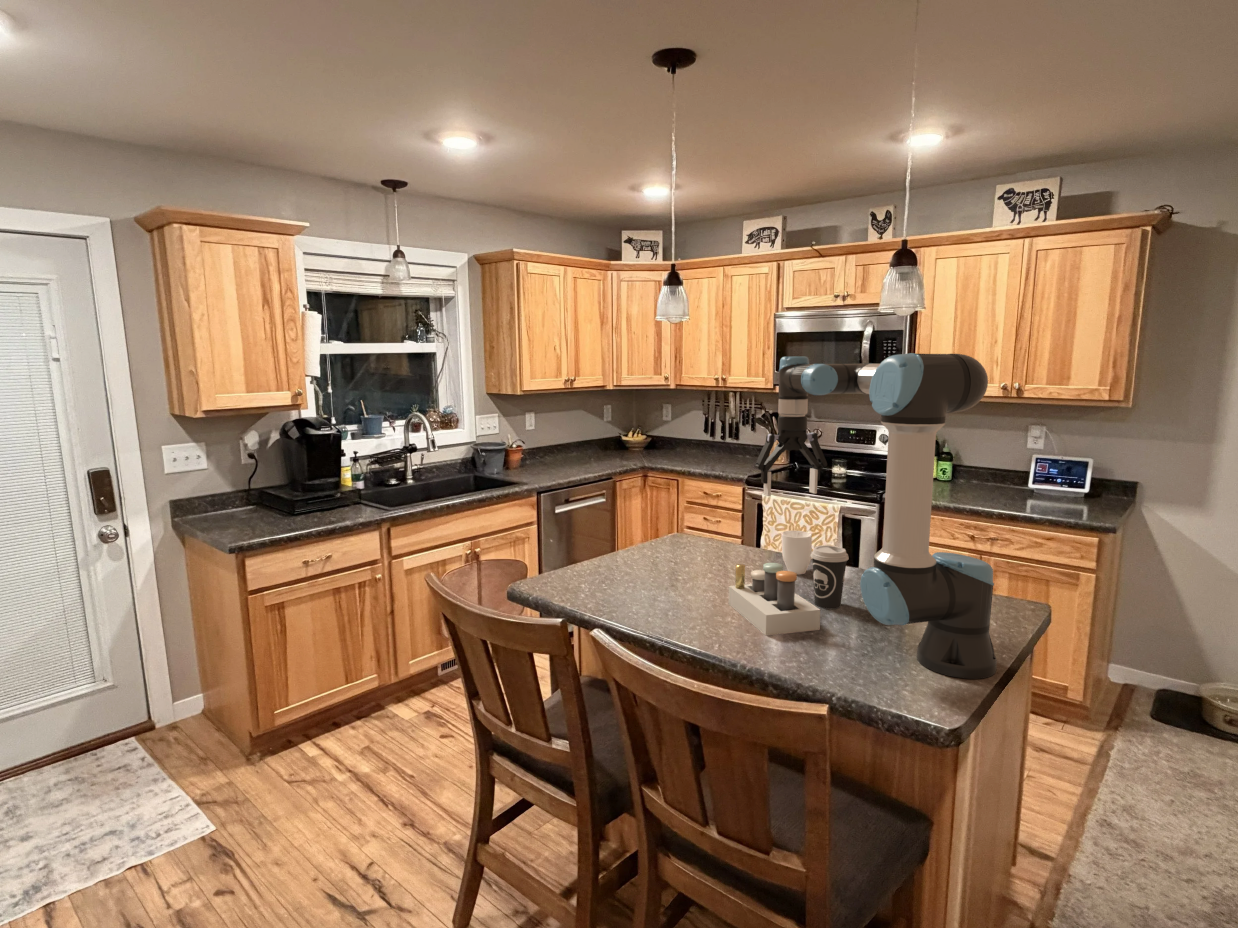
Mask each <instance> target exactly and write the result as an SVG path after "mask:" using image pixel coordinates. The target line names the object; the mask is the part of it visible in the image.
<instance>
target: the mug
mask: <svg viewBox="0 0 1238 928" xmlns="http://www.w3.org/2000/svg"><path fill="white" fill-rule="evenodd" d="M812 540H813V539H812V533H810V532H808V531H802V530H785V531H782V532H781V555H782V560H783V562H784V565H785V567H786V569H787V570H786V571H791V572H795V573H796V574H797V575H804V574H806V572H807V570H808V567H809V565H810V563H811V561H812V557H811V556H810V555H811V553H812V551H813V546H812V544H813V543H812V542H813V541H812Z"/></svg>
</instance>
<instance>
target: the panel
mask: <svg viewBox="0 0 1238 928" xmlns="http://www.w3.org/2000/svg"><path fill="white" fill-rule="evenodd" d="M728 605H729V606H730V607H731V608H732V609H734V610H735V611H736V612H737V613H738V614H739V615H740V616H742V617H743V618H744V619H746V620H747V621H748V622H749V623H750V624H751V625H753V626H754V627H755V628H756V629H757V630H758V631H759V632H761V633H762V634H763V635H764V636H767V637H769V636H774V635H784V634H792V633H793V634H794V633H803V632H810V631H811V632H812V631H820V630H821V629H820V628H821V627H820V626H821V609H820V607H819V608H818V606H816V605H814V604H812V603H811V602H810V601H809V600H807V599H805V598H803V597H802V596H800V595H799V594H798V593H796V592H795V596H794V610H788V611H780V610H779V609H777V601H766V600H765V599H764V592H754V591H753V590H752V583H745V588H744V589H737V588H735V584H733V585H729V586H728Z"/></svg>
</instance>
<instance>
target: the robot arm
mask: <svg viewBox="0 0 1238 928" xmlns="http://www.w3.org/2000/svg"><path fill="white" fill-rule="evenodd" d="M988 379H989V378H988V374H987V371H986V369H985V367H984V366H983V365H982V363H981V362H979V360H978V359H976V358H974V357H972V356H970V355H967V354H963V353H962V354H961V353H913V352H909V353H902V354H901V353H900V354H899V353H898V354H892V355H890V356H888V357H886V358H885V359H884V360H882V361H881V362H880V363H872V362H869V363H868V362H865V363H864V362H863V363H818V362H817V363H810V359H809V357H808V356H804V355H803V356H794V355H793V356H782V357H781V358H780V360H779V369H778V403H777V404H778V409H777V410H778V414H779V416H778V417H777V434H773V433H767V434H766V436H765V437H766V438H765V443H764V445H763V447H762V448H761V451H760V453H759V455H758V457H757V459H756V461H755V463H754V469H757V470H759V471H760V481H761V484H763V496H766V497H771V495H772V494H771V493H772V492H771V491H772V490H771V489H772V471H770V469H771V468H772V466H773V465H774V464H775V463H776V461H778V459H779V458H780V456H782V454H783V453H785V451H789V452H790V451H791V452H792V451H800V452H801V454H802V455H803V457H804V458H806V460H807V461H808V463H809V464H810V465H811V466H812V468H811V467H810V468H809V487H808V488H809V489H808V491H809V493H811V494H815V495H816V494H817V493H818V481H819V482H820V479H821V470H823V468H824V467H825V468H826V467H827V466H828V462H827V460H826V456H825V455H824V453H823V450H822V448H821V446H820V445H821V444H820V443H819V441H818V433H817V432H813V431H812V432H809V433H807V429H808V416H807V414H808V409H809V406H808V405H809V404H808V403H809V395H812V396H825V395H842V394H846V395H847V394H848V395H849V394H852V395H853V394H856V395H857V394H858V395H859V394H862V395H869V402H870V403H872V404H871V407H872V409H873V410H874V412H876V413H877V414H879V415H881V416H880V424H881V425H882V426H884V428H885V429H886V430H887V431H888V432H887V433H888V439H887V454H886V455H887V456H886V457H887V458H886V476H885V478H886V479H885V480H886V481H885V499H884V515H883V516H884V519H883V536H882V548H881V549H880V550H878V551H877V552H876V553H875V554H874V557H873V566H871V567H868V568H867V569H865V570H864V571H863V573H862V574H861V578H860V584H859V585H860V593H861V597H862V601H863V603H864V605H865V606H866V609H867V611H868V612H869V613H870V615H871V616H872V617H873V619H874V620H876V621H877V622H878V623H880V624H882V625H885V626H906V625H909V624H910V625H911V624H917V623H927V624H926V628H924V629H925V630H924V633H923V634H922V637H921V639H920V642H918V645H917V648H916V659H917V661H918V662H919V664H921V665H922V666H923V667H924V668H926V669H928V670H930V671H933V672H935V673H938V674H941V675H945V676H949V677H953V678H959V679H968V680H971V679H972V680H974V679H976V680H977V679H985V678H990V677H992V676H993V675H995V674H996V672H997V665H998V664H997V663H998V662H997V661H998V660H997V656H996V654H995V648H994V645H993V643H992V639H991V635H990V627H991V626H990V625H991V613H992V604H993V602H992V601H993V592H994V586H995V583H994V569H993V566H992V565H991V564H989V563H988V562H986V561H984V560H982V559H980V558H977V557H976V558H975V557H972V556H969V555H964V554H960V553H954V552H945V551H944V552H943V551H942V552H941V551H939V552H938V551H937V552H933V554H931V553H930V552H929V550H930V549H929V548H930V536H931V535H930V534H931V521H932V520H931V519H932V505H933V504H932V503H933V502H932V501H933V489H934V488H933V485H934V472H935V471H934V470H935V455H936V438H937V432H938V431H940V430H941V429H942V428H943V427H944V426H946V419H947V418H946V415H947V414H953V413H960V412H964V411H967V410H969V409H971V408H973V407H975V406H976V405H977V404H979V403H980V401H981V400H983V398H984V396H985V394H986V393H987V389H988V385H989V380H988ZM806 441H808V442H809V444H810V446H811V449H812V451H813V453H812V452H811V450H810V449H809V447H808V446H807V444H806V443H805V442H806ZM776 442H778V443H777V444H776V446H775V447H774V444H775V443H776ZM773 447H774V449H773V451H772V448H773ZM771 451H772V452H771ZM770 453H771V454H770Z"/></svg>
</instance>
